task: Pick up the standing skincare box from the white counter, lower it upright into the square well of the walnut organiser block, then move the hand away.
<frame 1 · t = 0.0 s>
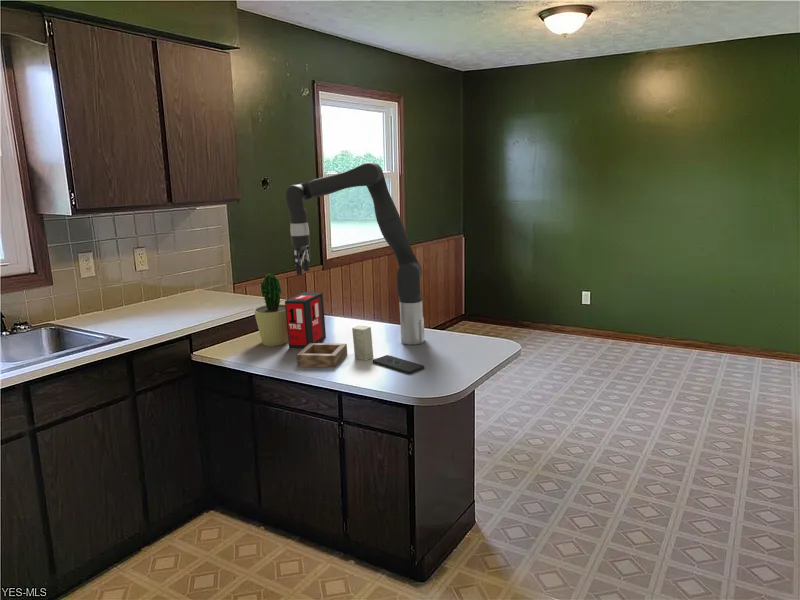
hand: (303, 272, 252), 29 cm above the counter, tool pointing down, fingers open, 8 cm apart
smart home device: (397, 367, 221), on the counter
skincare box: (363, 358, 231), on the counter
organiser block: (323, 360, 231), on the counter
potted cactus: (275, 342, 258), on the counter
cleaning product box: (308, 343, 254), on the counter
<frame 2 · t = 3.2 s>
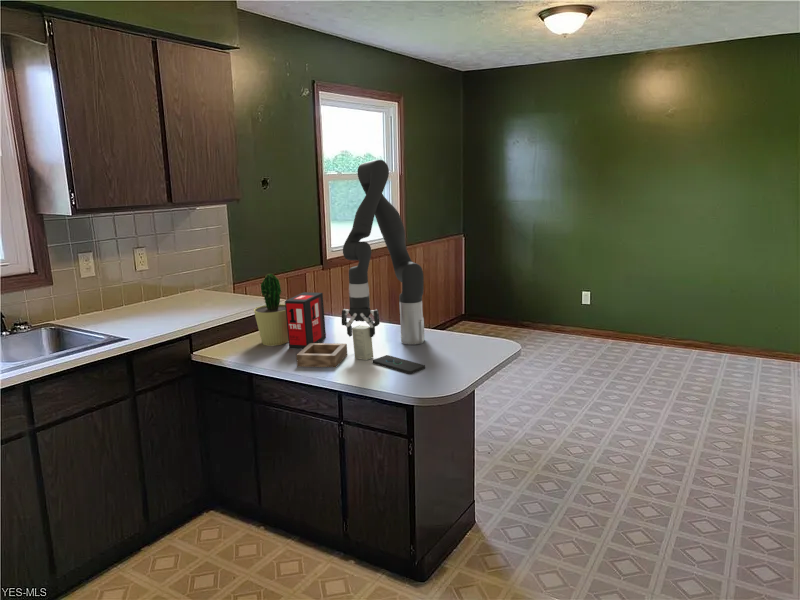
hand: (361, 336, 230), 9 cm above the counter, tool pointing down, fingers open, 8 cm apart
nothing on the counter moved.
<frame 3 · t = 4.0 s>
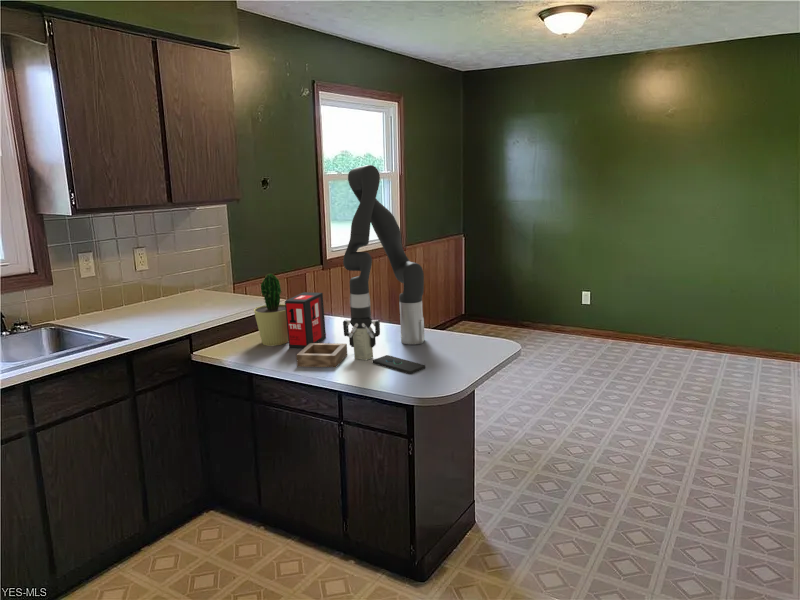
hand: (362, 346, 230), 4 cm above the counter, tool pointing down, fingers closed on skincare box, 7 cm apart
skincare box: (363, 358, 231), on the counter, touching gripper
everything else where it was.
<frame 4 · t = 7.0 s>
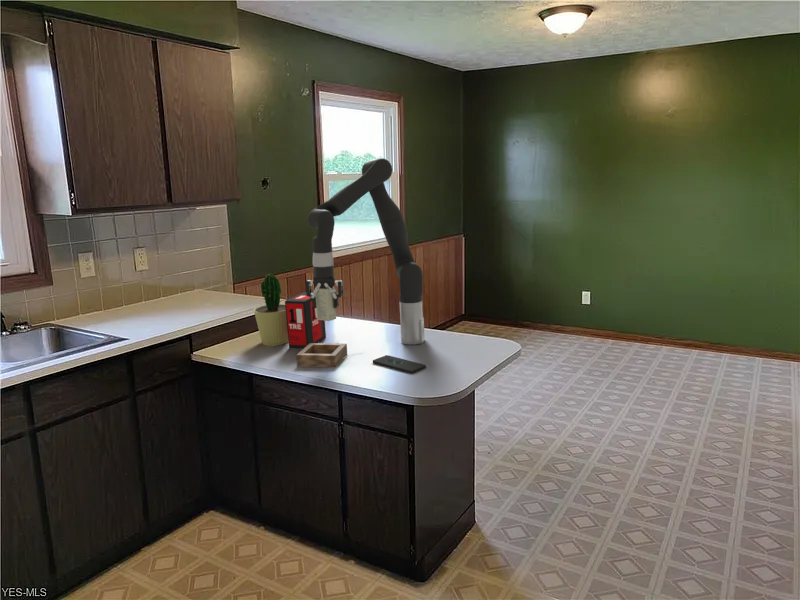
hand: (325, 307, 226), 21 cm above the counter, tool pointing down, fingers closed on skincare box, 7 cm apart
skincare box: (326, 319, 227), point 16 cm above the counter, touching gripper
everything else where it was.
when the fingers open (6 cm above the counter, at t = 10.0 s): skincare box stays where it is, resting on organiser block.
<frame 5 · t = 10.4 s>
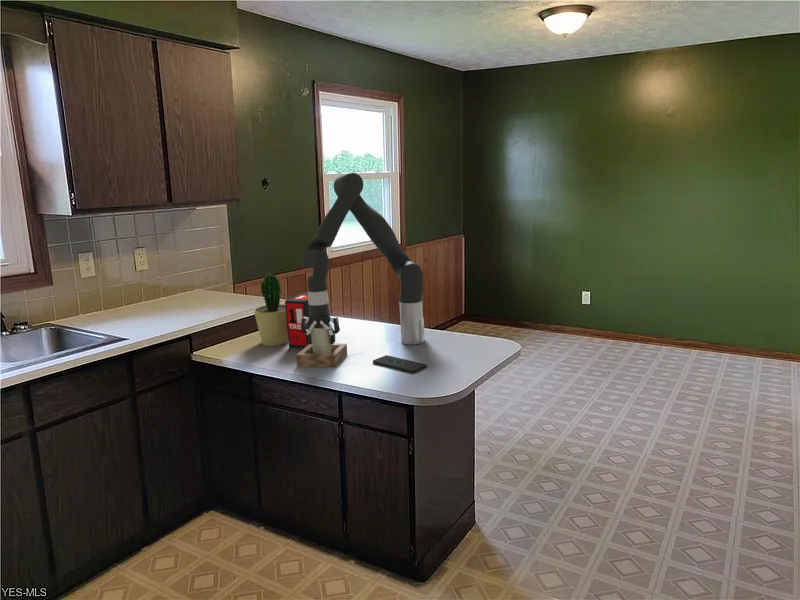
hand: (321, 343, 229), 7 cm above the counter, tool pointing down, fingers open, 8 cm apart
skincare box: (322, 358, 230), point 1 cm above the counter, touching organiser block
everything else where it was.
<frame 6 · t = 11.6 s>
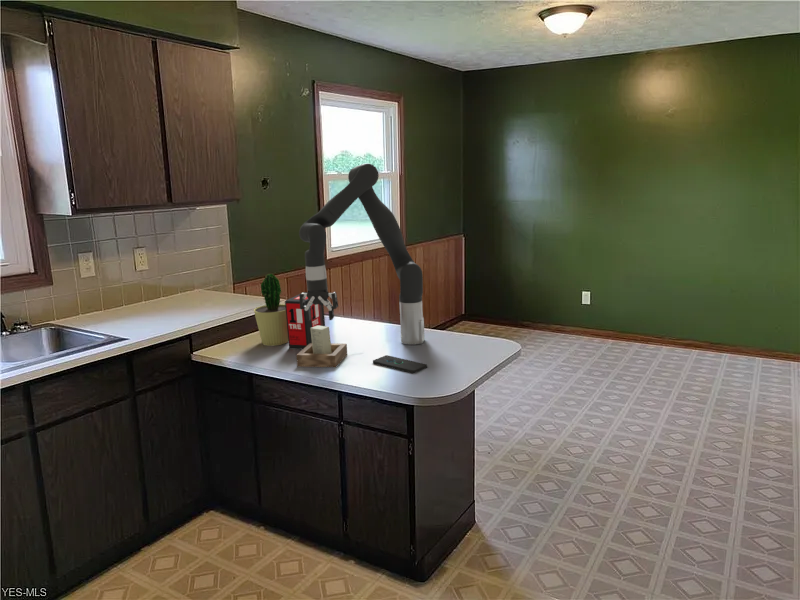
hand: (320, 319, 227), 16 cm above the counter, tool pointing down, fingers open, 8 cm apart
nothing on the counter moved.
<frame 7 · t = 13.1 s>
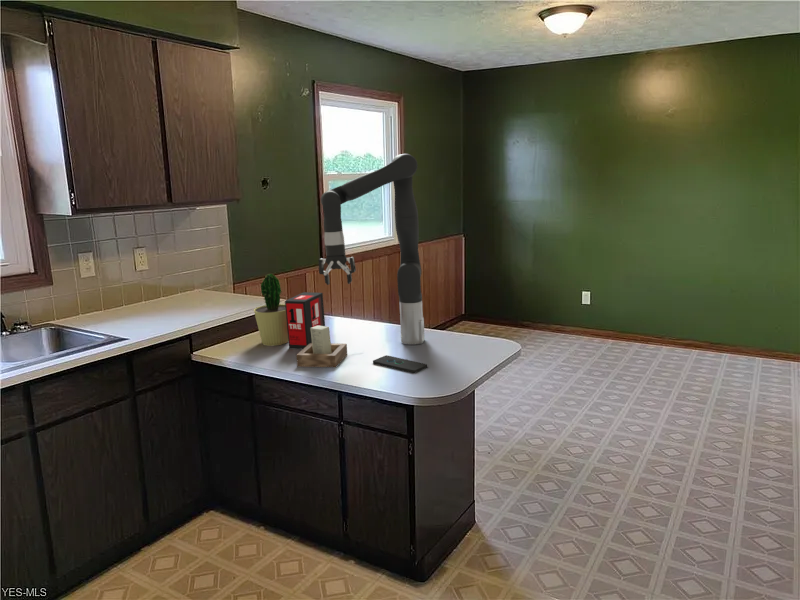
hand: (338, 284, 238), 27 cm above the counter, tool pointing down, fingers open, 8 cm apart
nothing on the counter moved.
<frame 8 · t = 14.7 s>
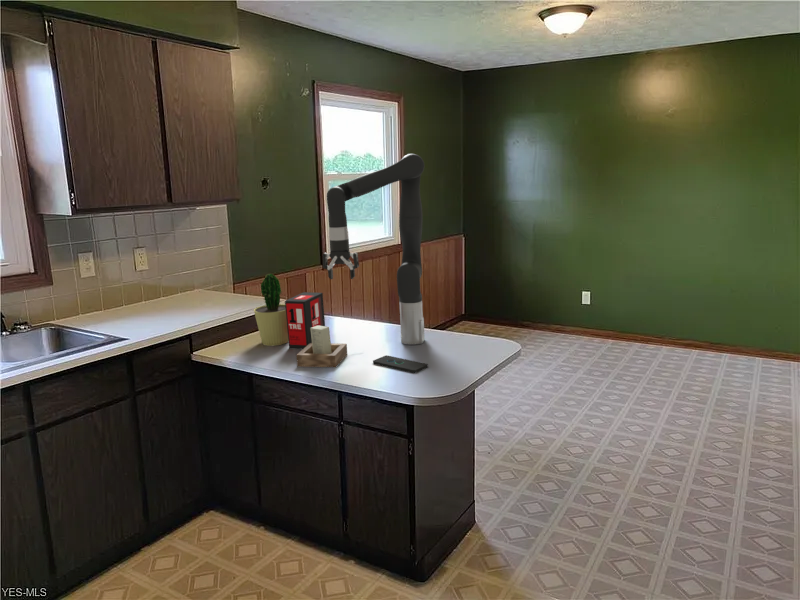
hand: (341, 278, 241), 28 cm above the counter, tool pointing down, fingers open, 8 cm apart
at the end: skincare box 0.1 cm off-centre on the organiser block, point 0.8 cm above the organiser block's base; skincare box tilted 0°; the gripper is holding nothing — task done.
